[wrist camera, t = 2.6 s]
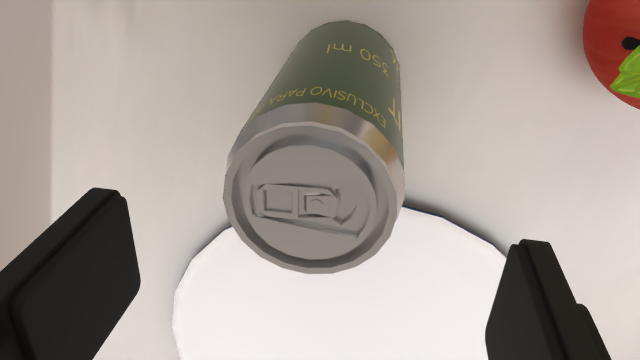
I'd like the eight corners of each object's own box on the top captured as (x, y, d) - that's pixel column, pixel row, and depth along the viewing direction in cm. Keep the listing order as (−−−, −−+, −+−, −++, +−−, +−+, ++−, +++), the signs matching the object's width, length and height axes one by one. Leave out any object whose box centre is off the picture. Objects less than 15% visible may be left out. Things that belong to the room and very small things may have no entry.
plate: (639, 287, 28) (649, 302, 27) (433, 488, 41) (435, 504, 39) (228, 123, 26) (221, 132, 25) (148, 388, 39) (141, 402, 38)
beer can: (290, 120, 25) (221, 270, 15) (290, 14, 23) (206, 108, 12) (394, 128, 25) (395, 289, 15) (406, 20, 22) (418, 125, 12)
